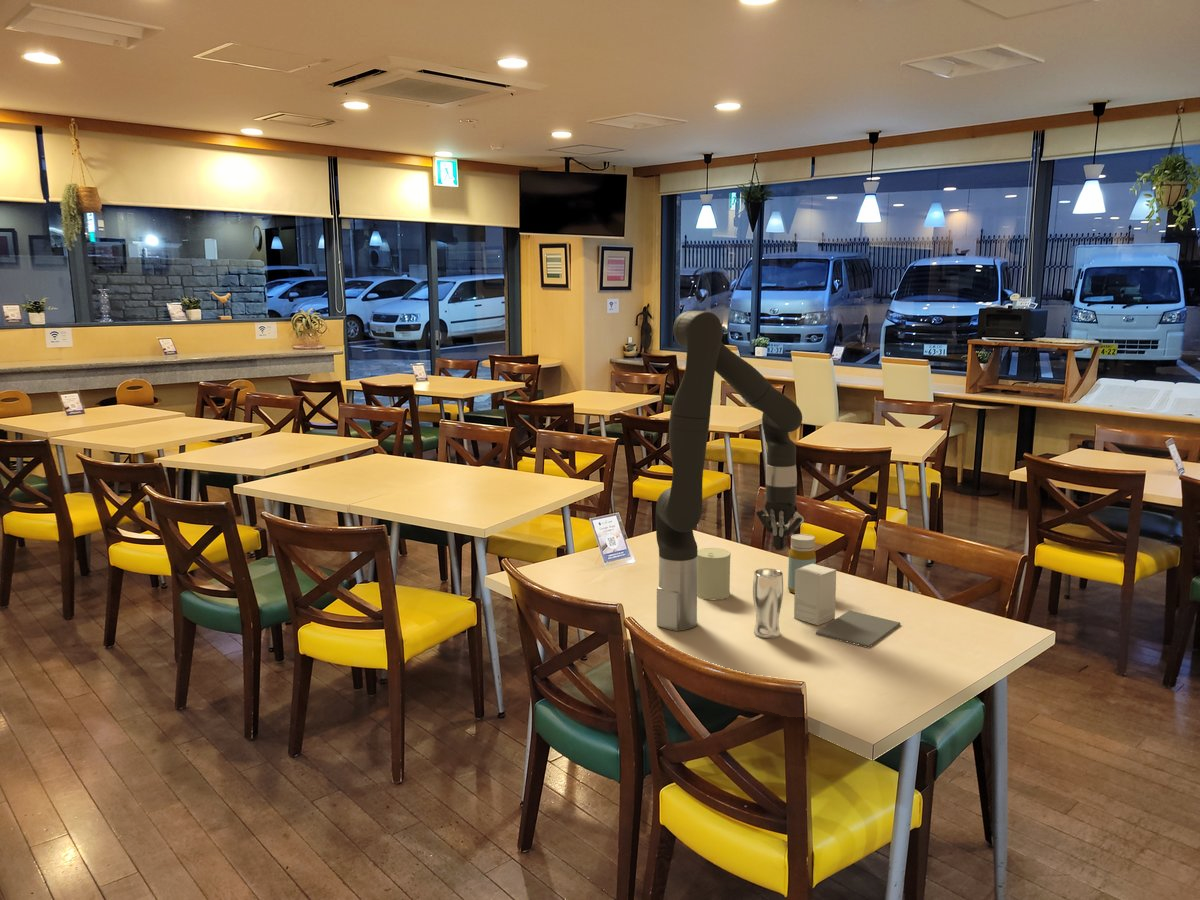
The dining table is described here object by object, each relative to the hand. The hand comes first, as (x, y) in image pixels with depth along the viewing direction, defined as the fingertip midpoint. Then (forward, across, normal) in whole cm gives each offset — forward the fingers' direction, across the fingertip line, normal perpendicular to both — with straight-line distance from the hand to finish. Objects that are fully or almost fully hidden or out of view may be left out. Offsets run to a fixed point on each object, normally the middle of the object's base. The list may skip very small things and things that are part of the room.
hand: (780, 549), depth 219 cm
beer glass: (+16, +6, -16) cm, 23 cm away
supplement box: (+16, +10, 0) cm, 19 cm away
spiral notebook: (+16, +21, 0) cm, 27 cm away
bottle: (+16, -2, +16) cm, 23 cm away
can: (+16, -19, -1) cm, 25 cm away
